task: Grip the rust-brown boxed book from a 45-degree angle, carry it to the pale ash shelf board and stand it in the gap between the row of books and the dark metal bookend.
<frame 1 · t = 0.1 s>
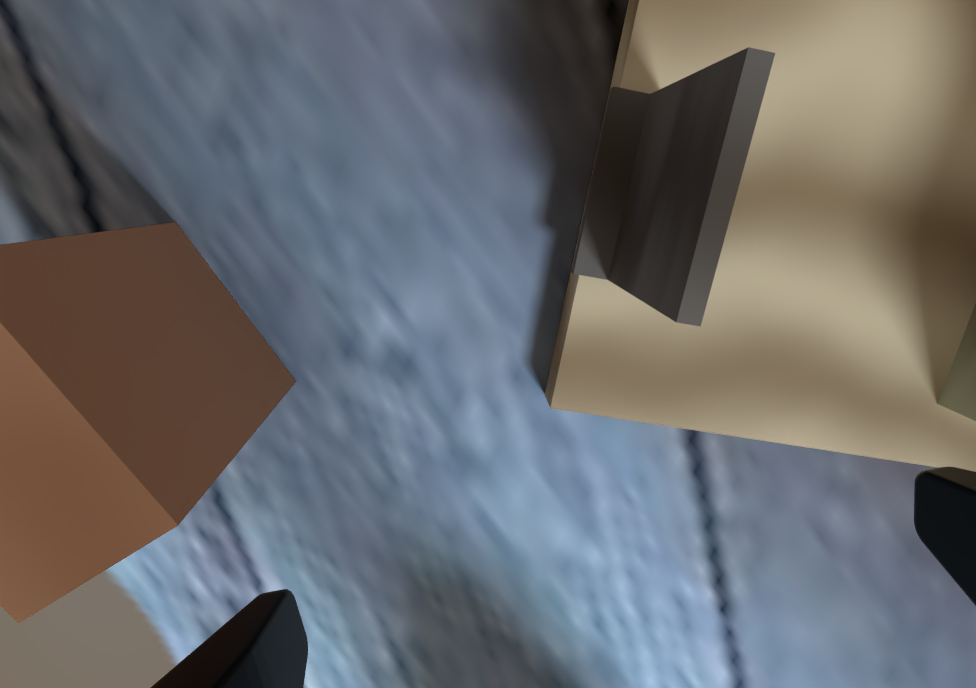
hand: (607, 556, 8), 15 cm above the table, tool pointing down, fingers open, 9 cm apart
boxed book: (189, 336, 22), on the table
book shelf: (798, 225, 22), on the table
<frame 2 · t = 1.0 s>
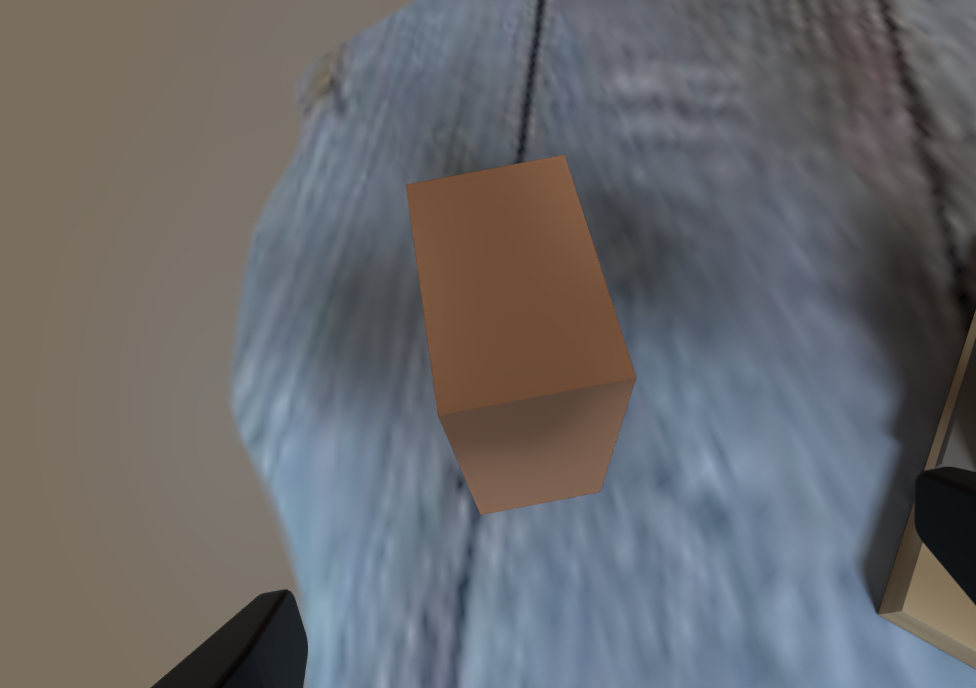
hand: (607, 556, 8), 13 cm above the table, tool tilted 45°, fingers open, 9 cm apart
boxed book: (522, 416, 24), on the table
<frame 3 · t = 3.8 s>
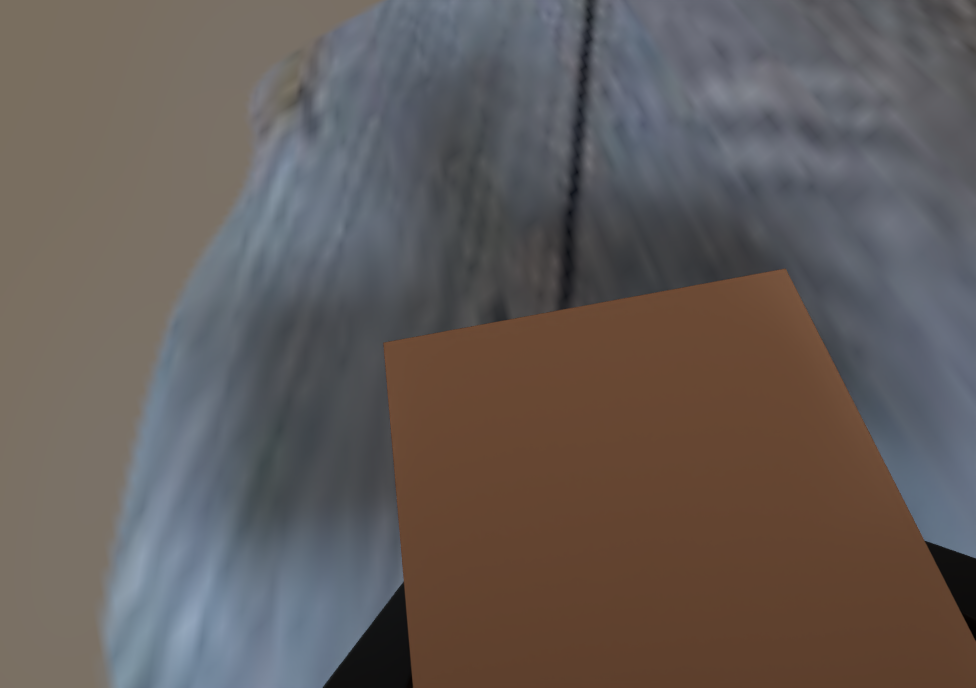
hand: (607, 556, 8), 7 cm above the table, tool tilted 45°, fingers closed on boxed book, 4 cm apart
boxed book: (597, 672, 14), on the table, touching gripper
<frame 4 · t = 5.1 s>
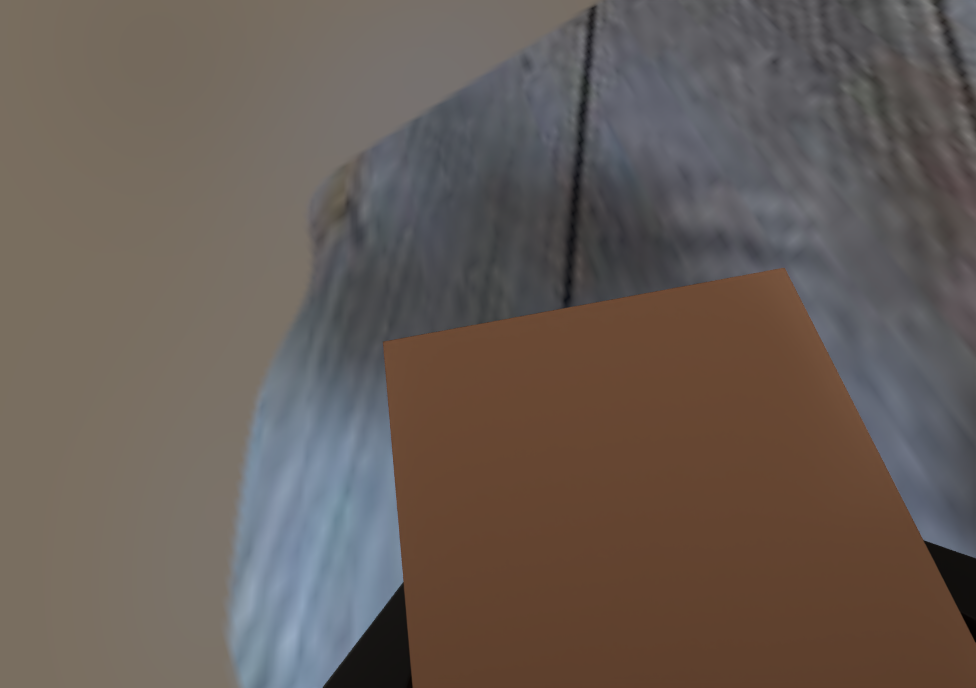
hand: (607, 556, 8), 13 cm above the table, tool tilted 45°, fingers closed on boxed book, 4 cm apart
boxed book: (597, 671, 14), point 7 cm above the table, touching gripper
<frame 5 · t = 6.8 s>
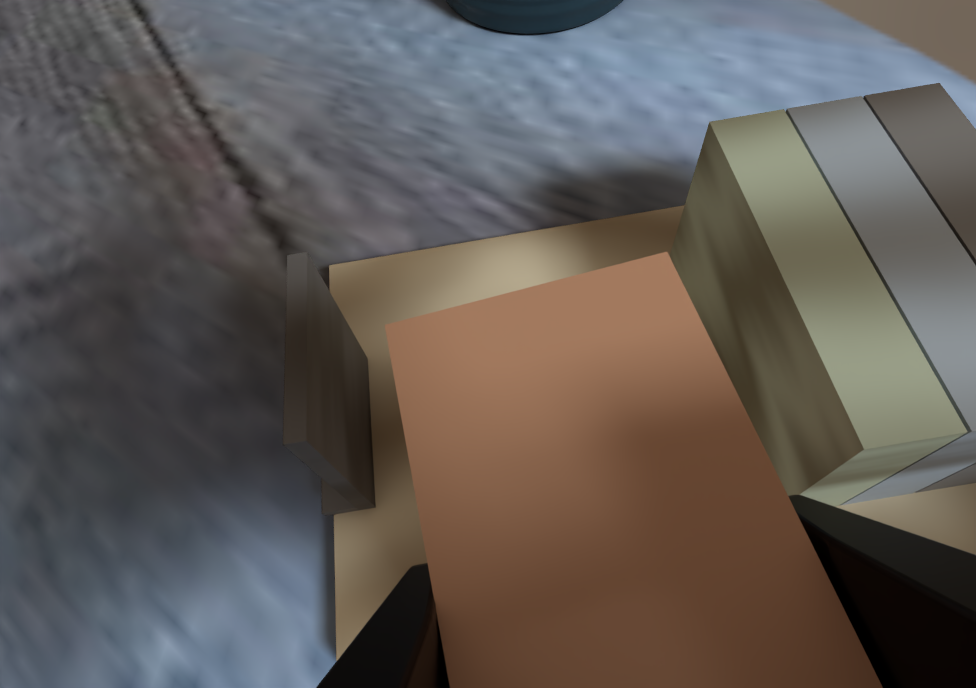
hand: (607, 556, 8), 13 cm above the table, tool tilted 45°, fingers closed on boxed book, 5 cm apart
boxed book: (577, 597, 16), point 5 cm above the table, touching gripper
book shelf: (541, 414, 24), on the table
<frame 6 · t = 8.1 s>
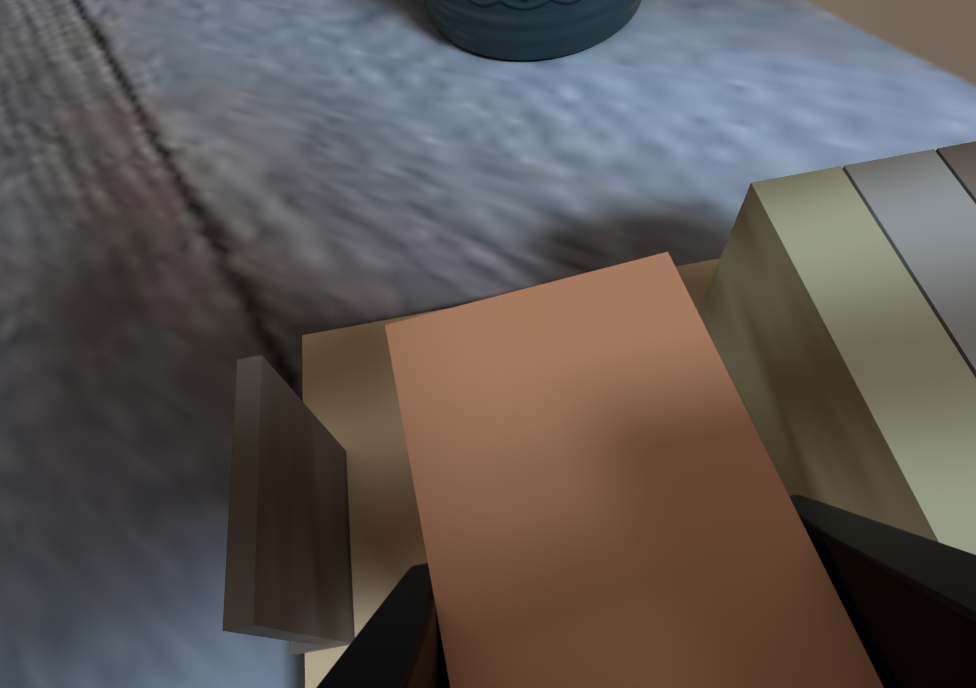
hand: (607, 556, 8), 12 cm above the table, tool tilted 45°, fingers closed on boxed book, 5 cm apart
boxed book: (578, 597, 16), point 3 cm above the table, touching gripper
book shelf: (550, 513, 20), on the table
when the fingers open (10 cm above the table, at t = 9.6 s): boxed book stays where it is, resting on book shelf.
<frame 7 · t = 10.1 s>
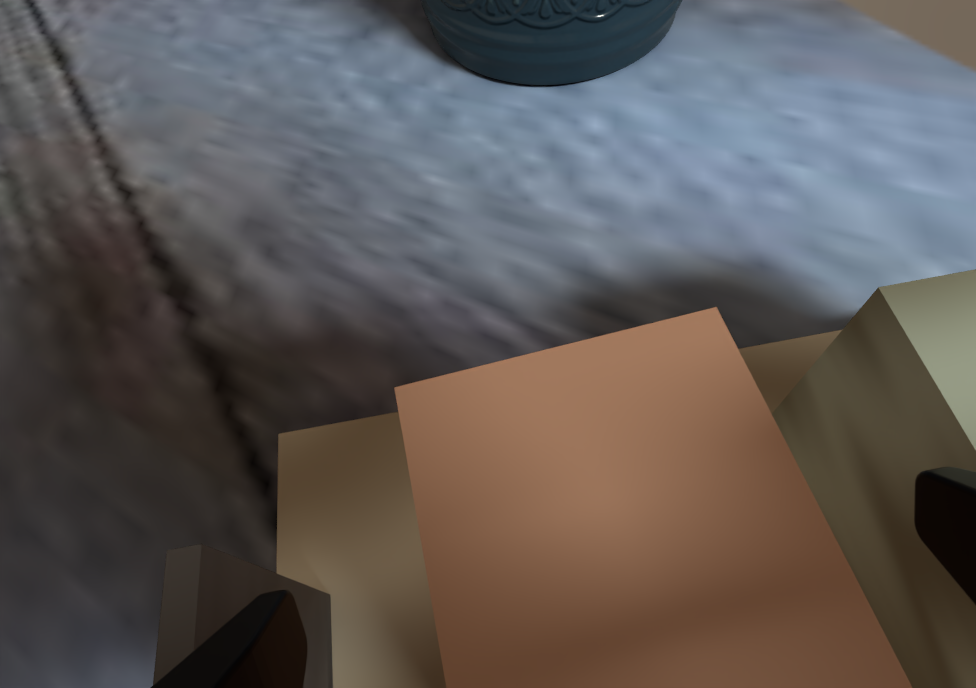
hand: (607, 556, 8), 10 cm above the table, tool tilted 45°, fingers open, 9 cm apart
canister: (550, 12, 31), on the table
boxed book: (591, 656, 15), point 1 cm above the table, touching book shelf
book shelf: (588, 675, 16), on the table
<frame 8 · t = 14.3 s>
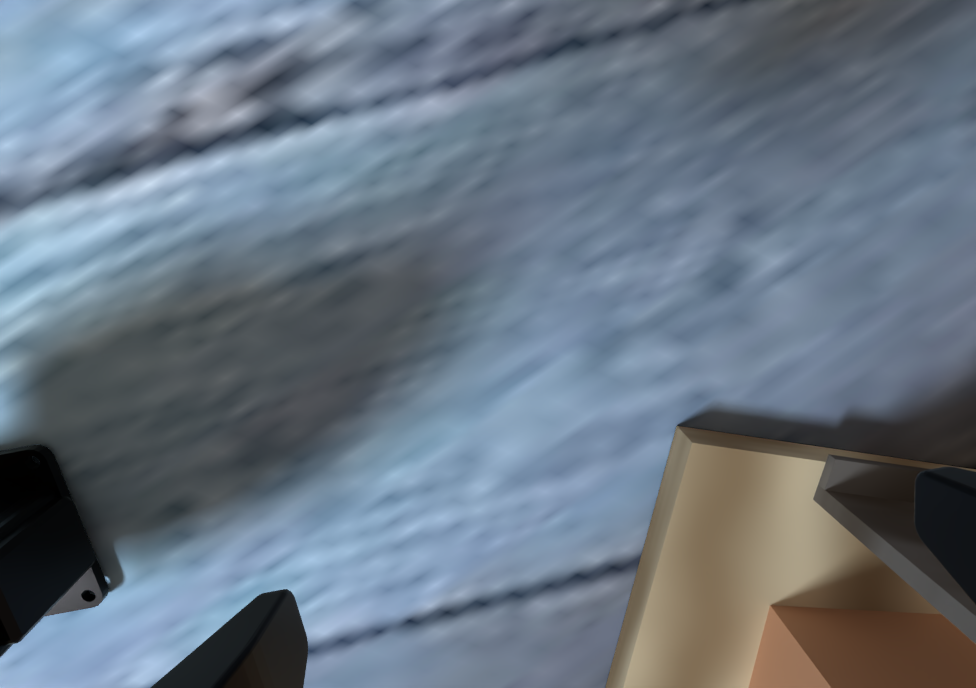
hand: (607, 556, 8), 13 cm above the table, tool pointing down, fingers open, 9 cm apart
boxed book: (842, 658, 24), point 1 cm above the table, touching book shelf
book shelf: (811, 628, 25), on the table
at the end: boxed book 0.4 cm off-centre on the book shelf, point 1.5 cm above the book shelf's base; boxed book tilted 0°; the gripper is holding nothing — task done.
